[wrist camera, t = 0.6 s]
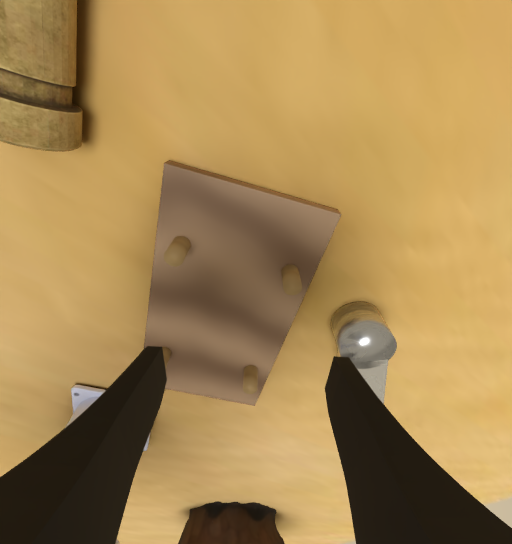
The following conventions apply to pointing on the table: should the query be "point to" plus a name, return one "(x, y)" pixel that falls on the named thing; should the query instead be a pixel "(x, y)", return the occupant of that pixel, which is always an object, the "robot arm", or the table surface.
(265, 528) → the dark brown rock
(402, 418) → the table surface
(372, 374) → the silver ball-ended bar
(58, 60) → the gavel
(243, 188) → the board
